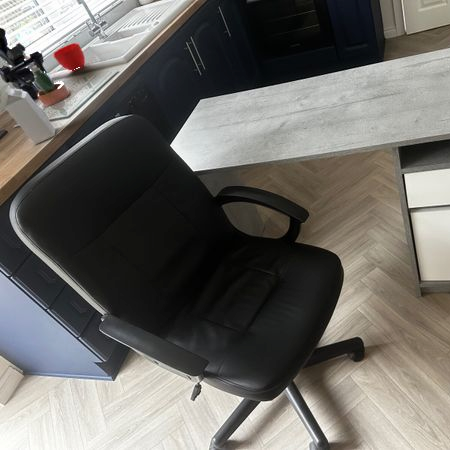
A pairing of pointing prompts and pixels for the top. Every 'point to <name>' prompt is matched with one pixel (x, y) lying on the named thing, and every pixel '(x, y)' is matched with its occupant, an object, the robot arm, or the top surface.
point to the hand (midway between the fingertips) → (38, 79)
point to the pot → (54, 95)
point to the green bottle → (44, 81)
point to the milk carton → (28, 115)
